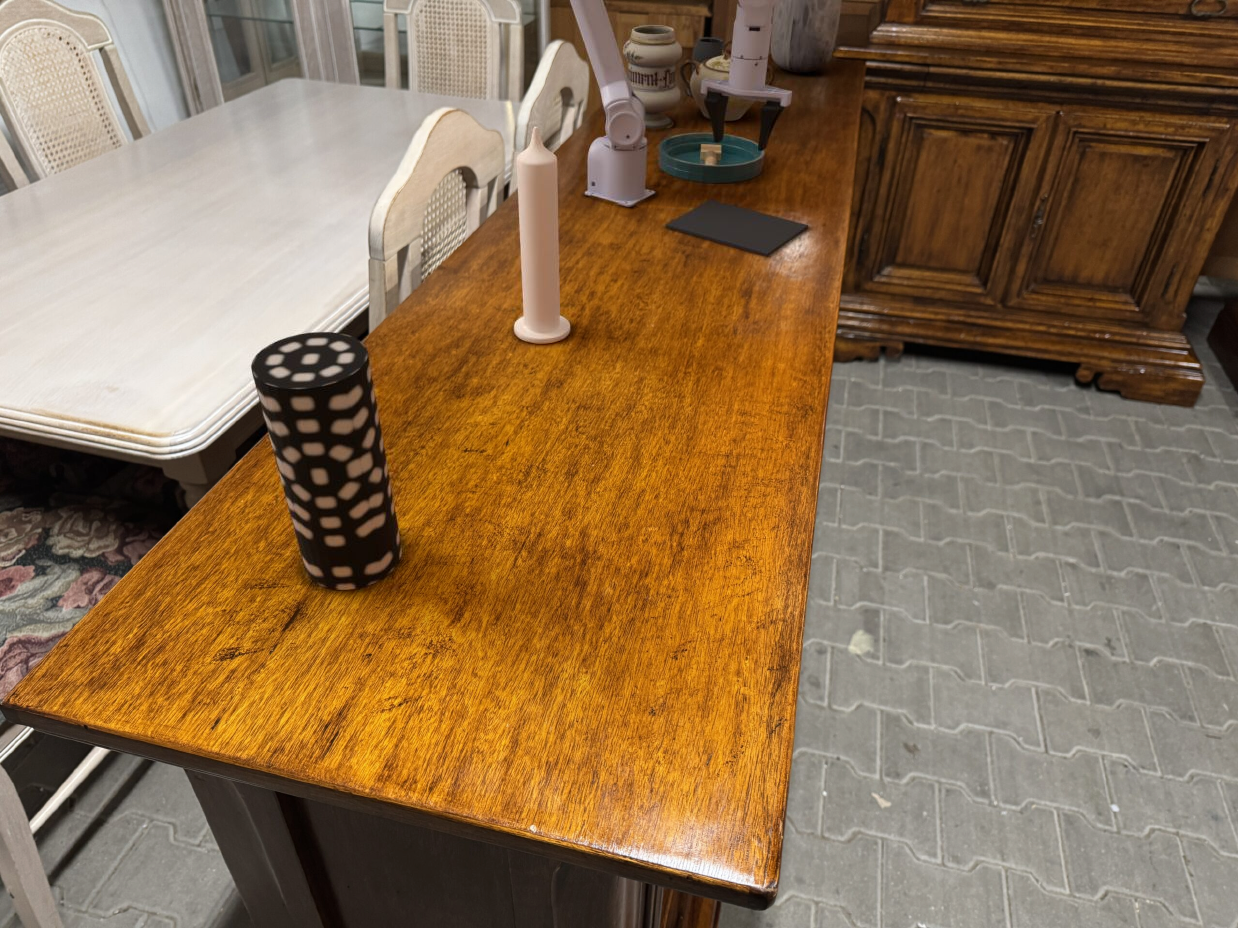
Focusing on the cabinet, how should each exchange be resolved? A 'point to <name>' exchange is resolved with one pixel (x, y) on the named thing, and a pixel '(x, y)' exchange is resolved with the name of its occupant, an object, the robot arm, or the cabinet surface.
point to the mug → (706, 50)
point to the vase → (804, 33)
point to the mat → (738, 227)
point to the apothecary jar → (654, 71)
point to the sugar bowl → (717, 70)
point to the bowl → (685, 163)
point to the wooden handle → (710, 154)
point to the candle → (539, 245)
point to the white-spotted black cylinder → (330, 456)
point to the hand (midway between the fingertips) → (740, 145)
